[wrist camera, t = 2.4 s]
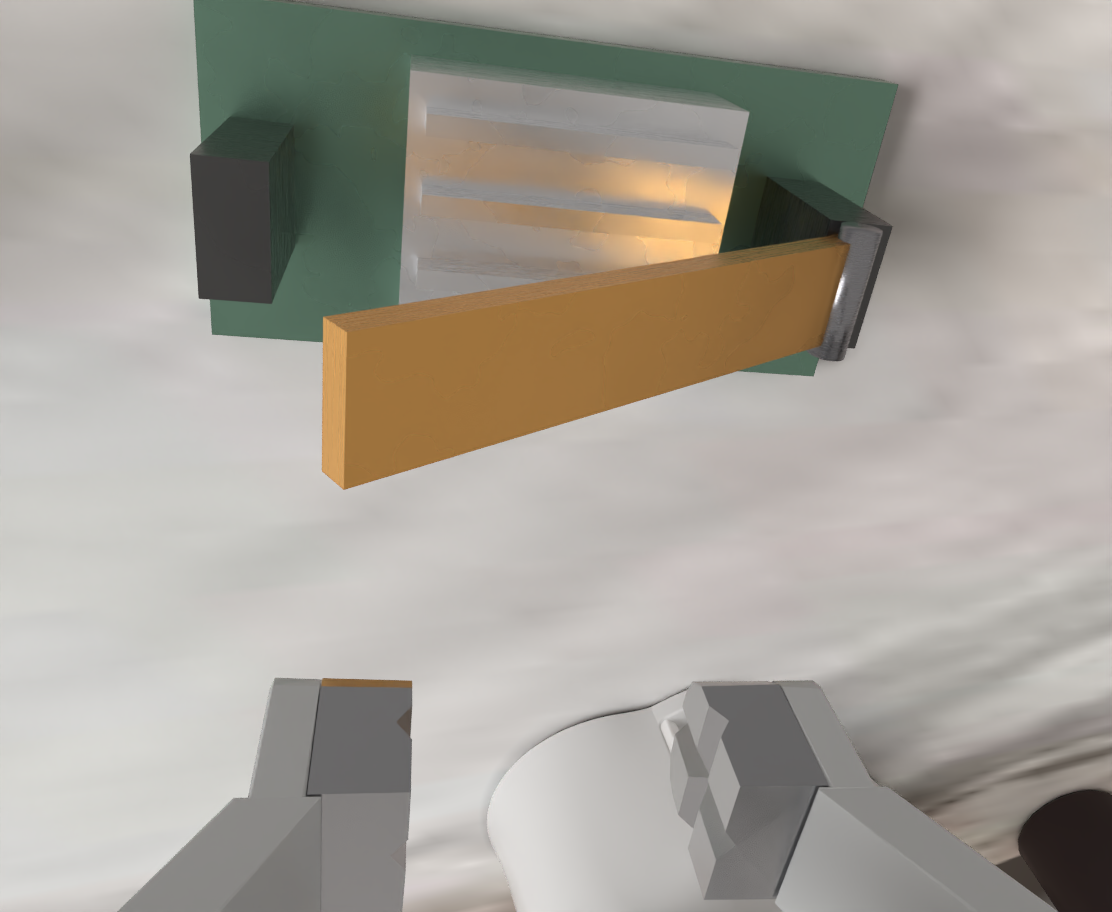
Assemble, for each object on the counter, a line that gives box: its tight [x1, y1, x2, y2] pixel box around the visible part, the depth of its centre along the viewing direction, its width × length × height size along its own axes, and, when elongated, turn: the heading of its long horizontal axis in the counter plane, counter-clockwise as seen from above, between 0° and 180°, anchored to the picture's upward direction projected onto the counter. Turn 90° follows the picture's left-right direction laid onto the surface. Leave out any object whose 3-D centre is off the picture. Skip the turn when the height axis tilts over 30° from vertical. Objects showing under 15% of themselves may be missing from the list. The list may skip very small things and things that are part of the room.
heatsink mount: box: [190, 0, 898, 376], centre depth 30 cm, size 23×11×7 cm, turn 82°
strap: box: [322, 222, 883, 490], centre depth 22 cm, size 18×4×1 cm
